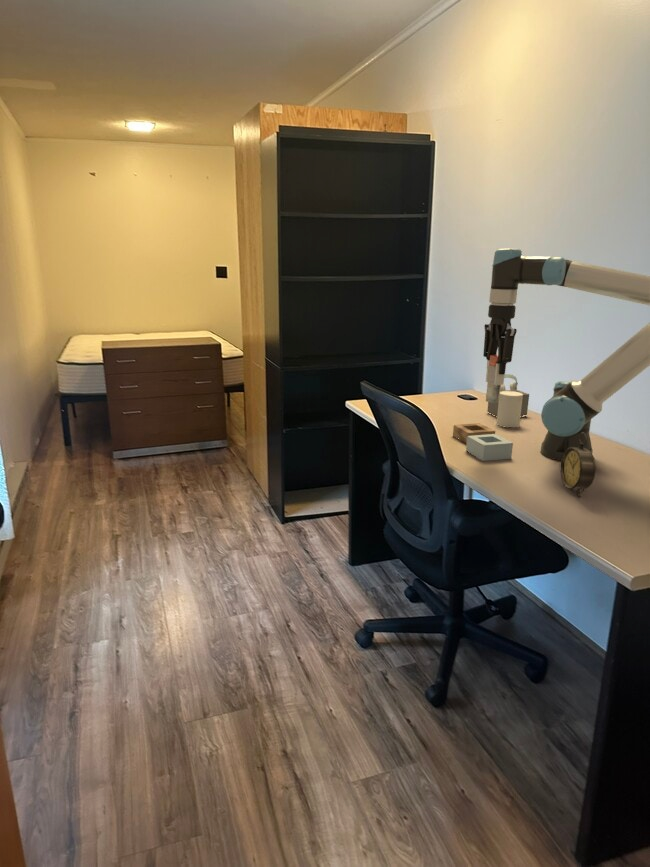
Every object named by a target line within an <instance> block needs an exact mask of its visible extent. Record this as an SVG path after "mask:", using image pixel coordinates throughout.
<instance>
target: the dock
mask: <svg viewBox="0 0 650 867" xmlns="http://www.w3.org/2000/svg"><path fill="white" fill-rule="evenodd" d="M513 446H514V442H512V441H510V440H508V439H506V438H504V437H502V436H501V435H498V434H496V433H495V434H487V435H474V436H467V444H466V446H465V448H466V449H465V452H467V451H468V452H469V454H470V453H471V454H470V455H472V456H473V455H474V456H473V457H475V456H476V457H475V458H476V459H478V458H479V460H480V461H482V462H487V461H498V460H507V459H508V460H509V459H510V460H511V459H512V456H513ZM468 452H467V453H468Z"/></svg>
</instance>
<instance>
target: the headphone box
mask: <svg viewBox="0 0 650 867" xmlns="http://www.w3.org/2000/svg"><path fill="white" fill-rule="evenodd" d="M505 390H506V391H510V389H508V390H507V389H505ZM516 392H520V393H522V394H523V398H522V407H521V416H523V415H527V416H528V411H529V410H528V408H529V399H530V394H529V393H526V392H524V391H522V390H518V389H517V390H516ZM498 404H499V402H498V403H491V402H487V412H489V413H491V414H493V415H495V416H497V414H498Z"/></svg>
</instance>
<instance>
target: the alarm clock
mask: <svg viewBox="0 0 650 867" xmlns="http://www.w3.org/2000/svg"><path fill="white" fill-rule="evenodd" d="M581 434H584V435H585V438H586V441H587V437H586V434H585V433H583V432H582V433H580V435H579V441H580V447H579V448H574V447H570V448H568V449H567V450H566V451H565V452H564V454H563V456H562V459H561V460H560V466H559V467H560V470H559V471H560V478H561V481H562V483H563V486H564V487H565V488H567V489H568V490H577V491H576V492H577V496H578V498H581V497H582V495H581V491H583V492H585V490H587V489H588V488H589V487H591V485H592V484H593V482H594V480H595V478H596V470H597V469H596V468H597V466H596V460H595V457H594V455H593V453H591V452H590V451H589V450H588V449H586V448H583V445H585V444H586V441H585V443H581V440H580V436H581Z"/></svg>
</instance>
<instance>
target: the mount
mask: <svg viewBox="0 0 650 867" xmlns="http://www.w3.org/2000/svg"><path fill="white" fill-rule="evenodd" d="M487 434H496V430H494V429H492V428H491V427H489V426H486V425H484V424H483V423H479V422H477V423H463V424H453V431H452V437H454V436H455V437H457V438H459V439H460V440H462V441H463V443H464V442H465V443H464V444H466V445H467V436H474V435H487ZM455 437H454V438H455ZM457 438H456V439H457ZM459 439H458V440H459ZM460 440H459V441H460ZM462 441H461V442H462Z"/></svg>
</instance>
